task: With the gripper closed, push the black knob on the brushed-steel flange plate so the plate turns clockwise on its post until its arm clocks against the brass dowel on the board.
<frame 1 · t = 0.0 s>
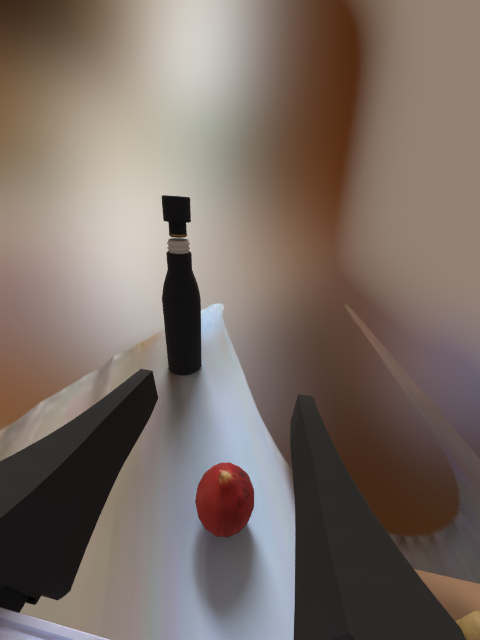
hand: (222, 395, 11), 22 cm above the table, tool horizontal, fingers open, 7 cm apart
red oval fruit: (224, 515, 25), on the table
wine bottle: (185, 365, 47), on the table
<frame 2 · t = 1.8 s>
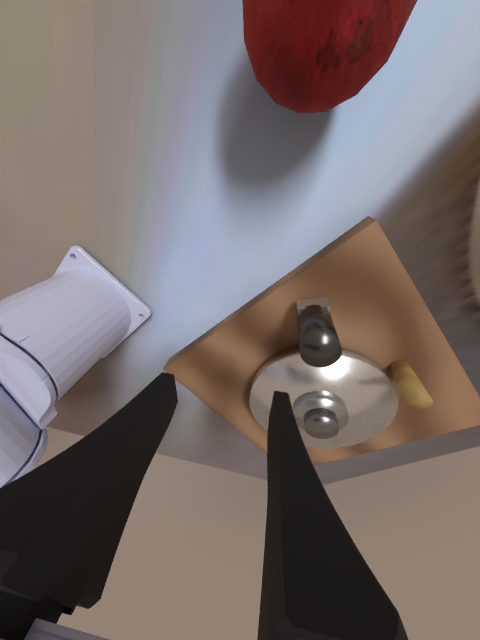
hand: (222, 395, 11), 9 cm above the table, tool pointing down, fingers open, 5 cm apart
red oval fruit: (312, 51, 11), on the table
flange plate: (319, 403, 18), point 4 cm above the table, hinge at 60.0°
base board: (314, 381, 23), on the table
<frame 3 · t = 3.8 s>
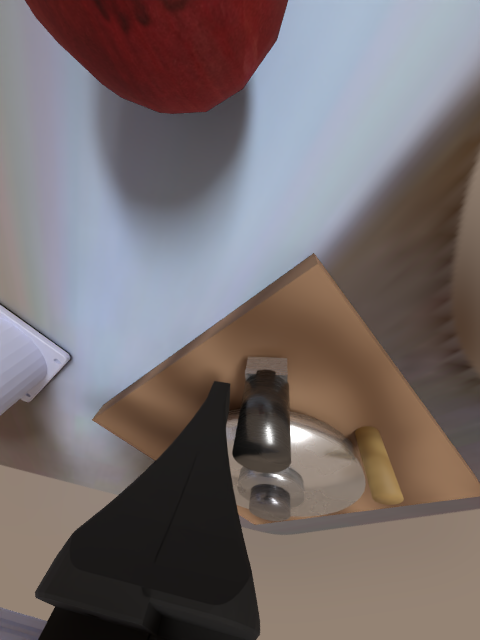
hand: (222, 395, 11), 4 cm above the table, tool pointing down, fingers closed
red oval fruit: (208, 21, 8), on the table
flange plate: (269, 481, 14), point 4 cm above the table, hinge at 53.4°, touching gripper
base board: (272, 435, 19), on the table
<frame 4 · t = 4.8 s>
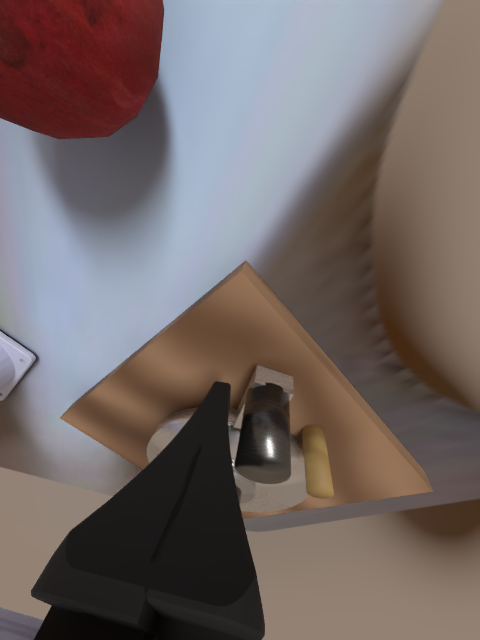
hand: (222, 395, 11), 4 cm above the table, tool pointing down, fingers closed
red oval fruit: (123, 50, 8), on the table
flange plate: (229, 479, 15), point 4 cm above the table, hinge at 32.3°, touching gripper
base board: (233, 433, 19), on the table
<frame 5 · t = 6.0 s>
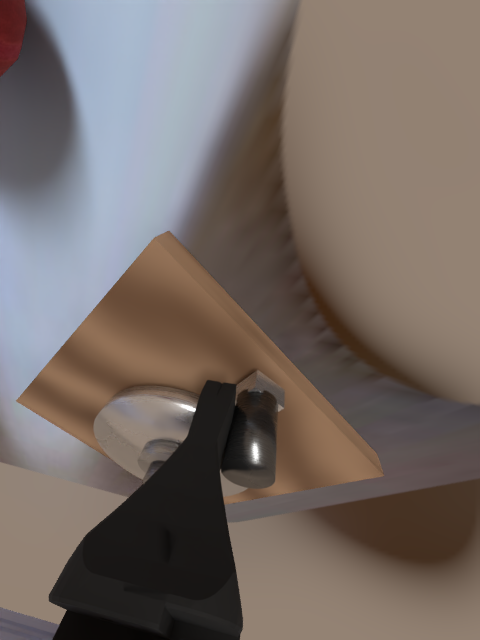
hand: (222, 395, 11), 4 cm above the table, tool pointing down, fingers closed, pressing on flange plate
red oval fruit: (14, 4, 8), on the table
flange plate: (182, 464, 15), point 4 cm above the table, hinge at 8.7°, touching base board, gripper
base board: (189, 417, 19), on the table
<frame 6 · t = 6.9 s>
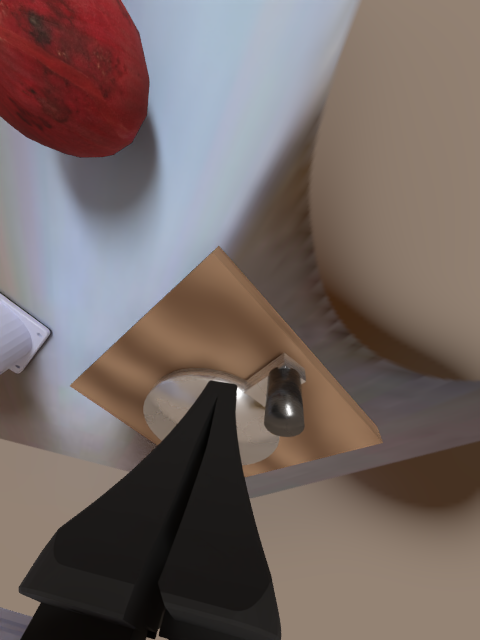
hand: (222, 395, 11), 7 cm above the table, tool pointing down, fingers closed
red oval fruit: (123, 91, 12), on the table
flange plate: (220, 431, 18), point 4 cm above the table, hinge at 8.8°
base board: (218, 399, 23), on the table
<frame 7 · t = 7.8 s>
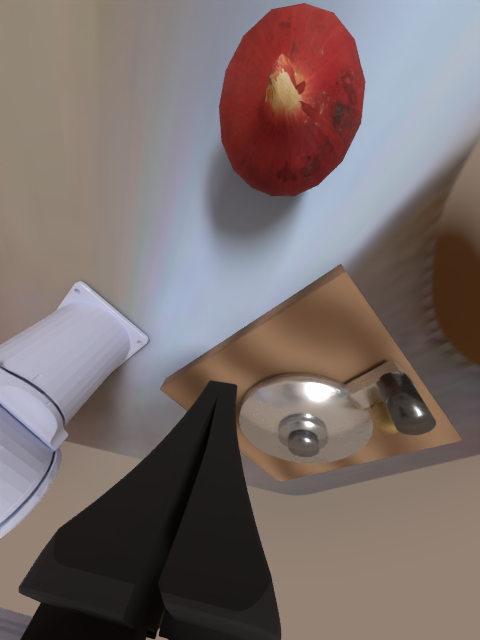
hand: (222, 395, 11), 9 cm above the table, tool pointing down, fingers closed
red oval fruit: (286, 133, 13), on the table
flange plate: (321, 431, 20), point 4 cm above the table, hinge at 8.8°
base board: (300, 400, 24), on the table
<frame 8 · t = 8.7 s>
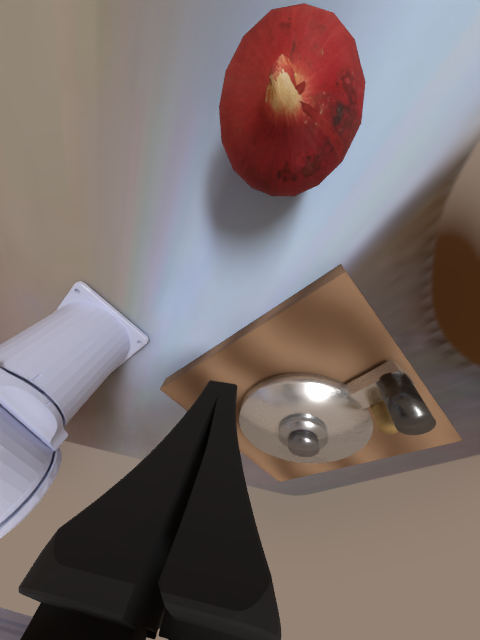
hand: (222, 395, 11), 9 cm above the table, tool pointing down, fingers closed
red oval fruit: (286, 133, 13), on the table
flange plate: (321, 431, 20), point 4 cm above the table, hinge at 8.8°
base board: (300, 400, 24), on the table
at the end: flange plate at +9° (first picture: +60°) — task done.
